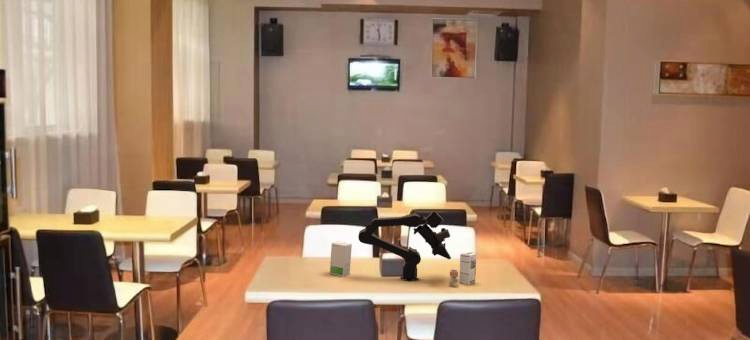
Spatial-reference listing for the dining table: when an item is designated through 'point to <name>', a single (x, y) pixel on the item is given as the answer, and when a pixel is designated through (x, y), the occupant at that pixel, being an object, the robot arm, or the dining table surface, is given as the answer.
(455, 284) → the beech block
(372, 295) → the dining table surface
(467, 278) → the syrup box
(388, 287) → the dining table surface
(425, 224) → the robot arm
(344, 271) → the skincare box
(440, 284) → the dining table surface
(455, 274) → the terracotta block
